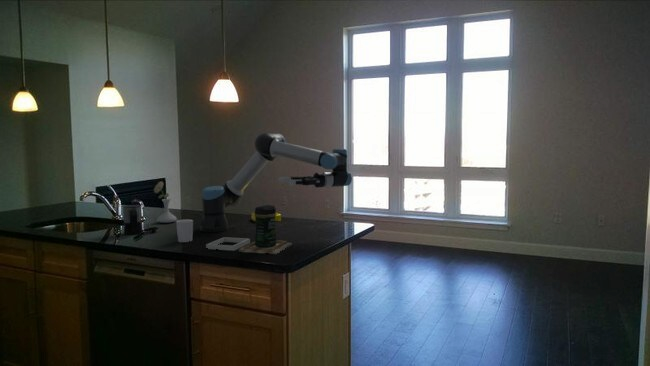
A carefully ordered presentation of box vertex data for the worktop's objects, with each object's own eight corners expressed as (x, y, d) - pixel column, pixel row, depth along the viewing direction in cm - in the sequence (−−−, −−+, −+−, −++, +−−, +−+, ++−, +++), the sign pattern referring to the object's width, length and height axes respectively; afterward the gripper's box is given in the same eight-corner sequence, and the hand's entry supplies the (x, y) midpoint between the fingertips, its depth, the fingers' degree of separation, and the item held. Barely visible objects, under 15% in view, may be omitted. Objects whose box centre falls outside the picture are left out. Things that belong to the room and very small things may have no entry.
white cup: (184, 243, 228) (183, 222, 227) (173, 241, 232) (172, 221, 231) (197, 240, 234) (196, 220, 233) (186, 238, 239) (185, 218, 238)
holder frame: (206, 248, 216) (206, 244, 216) (223, 241, 231) (223, 237, 231) (233, 250, 212) (233, 246, 212) (250, 242, 227) (249, 238, 227)
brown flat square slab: (238, 251, 210) (238, 247, 210) (256, 242, 227) (256, 238, 227) (276, 254, 205) (276, 249, 204) (291, 245, 222) (291, 240, 221)
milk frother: (120, 233, 254) (119, 205, 252) (149, 229, 265) (147, 202, 264) (132, 237, 244) (131, 208, 242) (161, 232, 255) (160, 205, 254)
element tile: (250, 219, 294) (250, 212, 293) (274, 217, 300) (273, 210, 299) (257, 223, 280) (257, 215, 279) (281, 221, 286) (281, 213, 285)
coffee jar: (265, 249, 209) (264, 207, 208) (252, 247, 214) (251, 206, 212) (279, 245, 217) (278, 204, 216) (266, 243, 222) (265, 203, 220)
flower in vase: (169, 220, 293) (167, 179, 291) (181, 221, 286) (179, 180, 284) (150, 223, 282) (148, 181, 280) (162, 225, 276) (160, 182, 273)
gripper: (334, 189, 231) (293, 192, 222) (312, 184, 253) (274, 186, 244) (334, 174, 230) (293, 175, 221) (312, 170, 252) (274, 171, 243)
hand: (283, 181), depth 232 cm, fingers open, 13 cm apart
